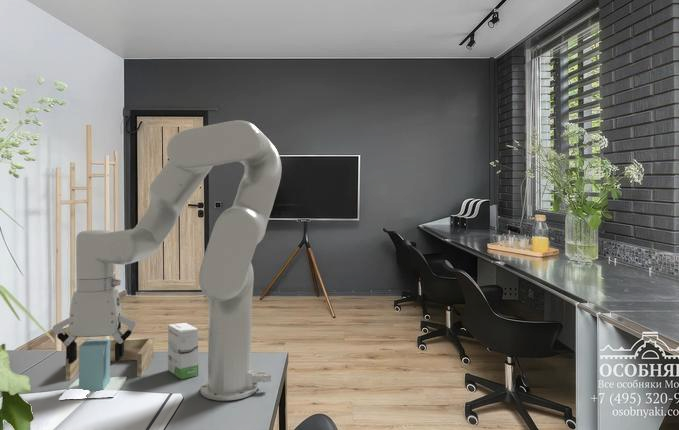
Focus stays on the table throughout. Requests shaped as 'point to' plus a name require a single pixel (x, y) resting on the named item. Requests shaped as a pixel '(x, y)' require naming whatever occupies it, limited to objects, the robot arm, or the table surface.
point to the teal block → (94, 364)
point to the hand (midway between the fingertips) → (95, 360)
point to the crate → (132, 351)
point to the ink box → (183, 350)
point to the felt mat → (113, 385)
